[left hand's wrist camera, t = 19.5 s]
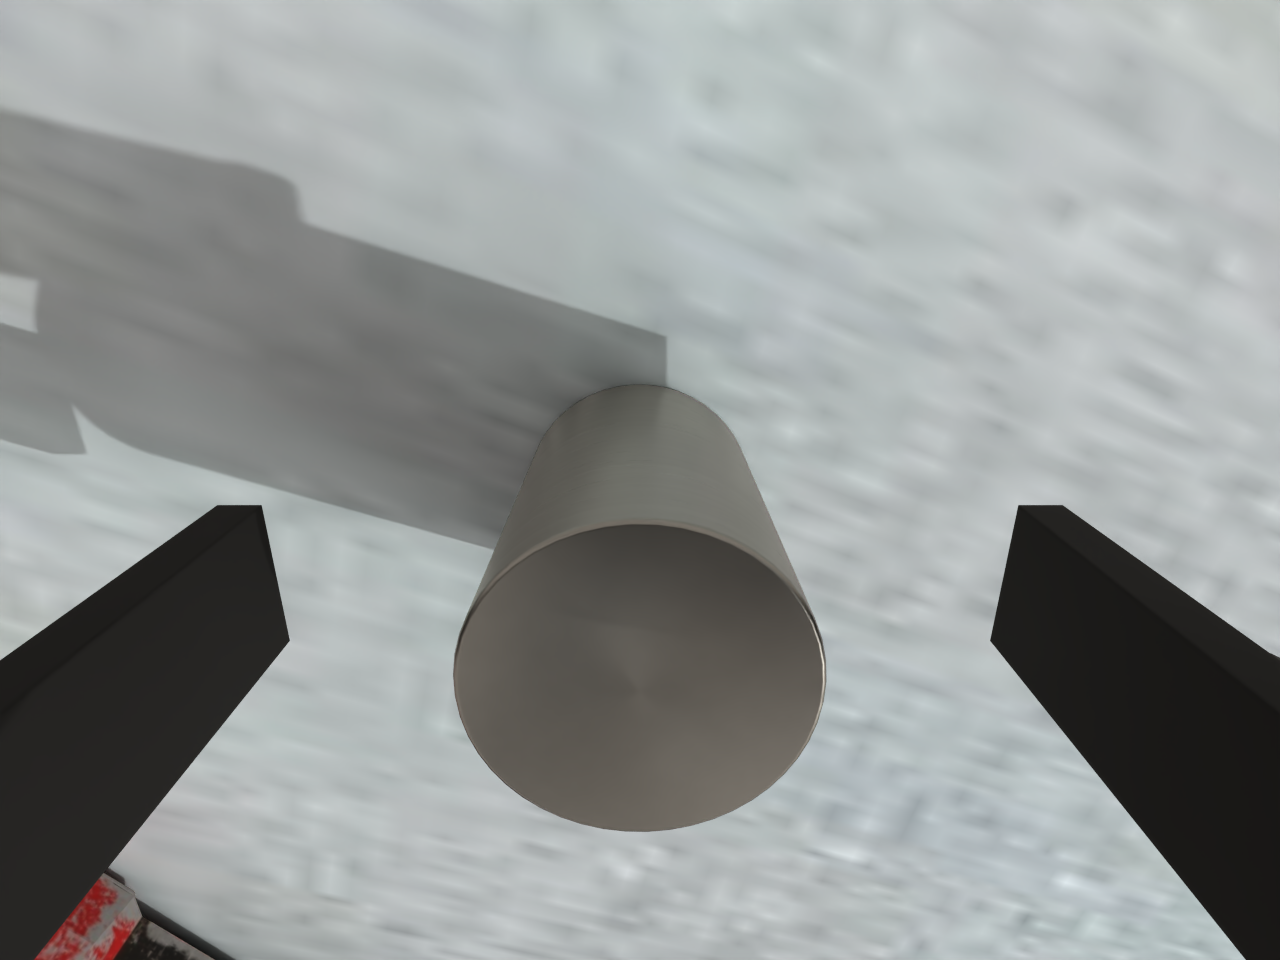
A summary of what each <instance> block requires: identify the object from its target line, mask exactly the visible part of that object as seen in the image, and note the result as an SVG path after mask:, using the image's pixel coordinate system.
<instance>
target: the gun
mask: <svg viewBox="0 0 1280 960" xmlns="http://www.w3.org/2000/svg"><path fill="white" fill-rule="evenodd" d="M34 960H214V959H213V958H211V957H209V956H208V955H206V954H204V953H203V952H201V951H199V950H198V949H196V948H194V947H193V946H191V945H189V944H188V943H186V942H184V941H183V940H181V939H179V938H178V937H176V936H174V935H173V934H171V933H169V932H168V931H166V930H164V929H163V928H161V927H159V926H157V925H156V924H154V923H152V922H151V921H149V920H147V919H146V918H144V917H142V915H141V912H140V909H139V907H138V904H137V902H136V899H135V892H134V891H133V890H131V889H130V888H128V887H126V886H125V885H123V884H122V883H120V882H118V881H117V880H115V879H113V878H112V877H110V876H108V875H107V874H105V873H103V874H102V876H101V877H100V878H99V879H98V881H97V882H96V883H95V884H94V886H93V887H92V888H91V889H90V891H89V892H88V893H87V894H86V896H85V897H84V898H83V899H82V901H81V902H80V903H79V904H78V906H77V907H76V908H75V909H74V911H73V912H72V913H71V914H70V916H69V917H68V918H67V919H66V921H65V922H64V923H63V924H62V926H61V927H60V928H59V929H58V931H57V932H56V933H55V934H54V936H53V937H52V938H51V939H50V941H49V942H48V943H47V944H46V946H45V947H44V948H43V949H42V950H41V952H40V953H39V954H38V955H37V957H36V958H35V959H34Z"/></svg>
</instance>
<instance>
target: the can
mask: <svg viewBox="0 0 1280 960" xmlns="http://www.w3.org/2000/svg"><path fill="white" fill-rule="evenodd" d="M453 679H454V691H455V698H456V702H457V706H458V710H459V714H460V718H461V720H462V723H463V725H464V727H465V730H466V732H467V735H468V737H469V739H470V740H471V742H472V744H473V745H474V747H475V749H476V751H477V752H478V754H479V755H480V756H481V758H482V759H483V760H484V761H485V763H486V764H487V765H488V767H489V768H490V769H491V770H492V771H493V772H494V773H495V774H496V775H497V776H498V777H499V778H500V779H501V780H502V781H503V782H504V783H505V784H506V785H507V786H509V787H510V788H511V789H513V790H514V791H515V792H516V793H518V794H519V795H520V796H522V797H523V798H525V799H526V800H528V801H530V802H531V803H533V804H535V805H537V806H538V807H540V808H542V809H544V810H546V811H548V812H550V813H553V814H555V815H557V816H559V817H562V818H565V819H568V820H571V821H574V822H577V823H580V824H583V825H588V826H593V827H597V828H602V829H609V830H618V831H634V832H650V831H661V830H671V829H676V828H682V827H687V826H692V825H695V824H699V823H702V822H705V821H709V820H712V819H715V818H717V817H719V816H722V815H724V814H727V813H729V812H731V811H733V810H735V809H737V808H739V807H741V806H743V805H744V804H746V803H748V802H750V801H752V800H753V799H754V798H756V797H757V796H759V795H760V794H761V793H763V792H764V791H766V790H767V789H768V788H770V787H771V786H772V785H773V784H774V783H775V782H776V781H777V780H778V779H779V778H781V777H782V776H783V775H784V774H785V773H786V771H787V770H788V769H789V768H790V767H791V766H792V764H793V763H794V762H795V761H796V760H797V759H798V757H799V756H800V754H801V752H802V751H803V749H804V748H805V746H806V745H807V743H808V742H809V740H810V737H811V735H812V733H813V731H814V729H815V727H816V724H817V722H818V719H819V715H820V712H821V708H822V705H823V702H824V695H825V687H826V657H825V652H824V646H823V641H822V637H821V634H820V632H819V629H818V626H817V623H816V620H815V618H814V615H813V613H812V611H811V608H810V606H809V604H808V602H807V599H806V597H805V595H804V592H803V590H802V588H801V586H800V583H799V581H798V579H797V576H796V574H795V572H794V569H793V567H792V565H791V563H790V560H789V558H788V556H787V553H786V551H785V549H784V547H783V544H782V542H781V540H780V537H779V535H778V533H777V530H776V528H775V526H774V524H773V521H772V519H771V517H770V514H769V512H768V510H767V508H766V505H765V503H764V501H763V498H762V496H761V494H760V492H759V489H758V487H757V485H756V482H755V480H754V478H753V475H752V473H751V471H750V469H749V466H748V464H747V462H746V459H745V457H744V455H743V453H742V450H741V448H740V446H739V444H738V442H737V440H736V438H735V437H734V435H733V433H732V432H731V431H730V429H729V428H728V427H727V425H726V424H725V423H724V422H723V421H722V420H721V419H720V418H719V416H718V415H717V414H716V413H714V412H713V411H712V410H711V409H709V408H708V407H707V406H706V405H704V404H703V403H701V402H699V401H698V400H696V399H694V398H693V397H690V396H688V395H686V394H684V393H681V392H679V391H676V390H672V389H669V388H665V387H660V386H653V385H626V386H618V387H614V388H610V389H606V390H603V391H600V392H597V393H595V394H592V395H590V396H588V397H586V398H584V399H583V400H581V401H579V402H577V403H576V404H574V405H573V406H572V407H570V408H569V409H568V410H566V411H565V412H564V413H563V414H562V415H561V416H560V417H559V418H558V419H557V420H556V421H555V422H554V423H553V425H552V426H551V427H550V428H549V430H548V431H547V432H546V434H545V436H544V437H543V439H542V441H541V442H540V444H539V447H538V449H537V451H536V454H535V456H534V458H533V461H532V463H531V465H530V468H529V470H528V472H527V475H526V477H525V480H524V482H523V484H522V487H521V489H520V491H519V494H518V496H517V498H516V501H515V503H514V505H513V508H512V510H511V512H510V515H509V517H508V519H507V522H506V524H505V527H504V529H503V531H502V534H501V536H500V538H499V541H498V543H497V545H496V548H495V550H494V552H493V555H492V557H491V559H490V562H489V564H488V566H487V569H486V571H485V574H484V576H483V578H482V581H481V583H480V585H479V588H478V590H477V592H476V595H475V597H474V599H473V602H472V604H471V606H470V609H469V611H468V613H467V616H466V618H465V621H464V623H463V626H462V628H461V631H460V633H459V637H458V642H457V646H456V650H455V655H454V669H453Z"/></svg>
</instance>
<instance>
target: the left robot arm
mask: <svg viewBox="0 0 1280 960" xmlns="http://www.w3.org/2000/svg"><path fill="white" fill-rule="evenodd" d="M289 641H290V640H289V635H288V630H287V625H286V620H285V616H284V611H283V606H282V601H281V596H280V592H279V587H278V582H277V577H276V572H275V568H274V563H273V558H272V553H271V548H270V544H269V539H268V534H267V529H266V524H265V520H264V515H263V510H262V505H217V506H216V507H214V508H213V509H212V510H210V511H209V512H207V513H206V514H205V515H203V516H202V517H200V518H199V519H198V520H196V521H195V522H193V523H192V524H191V525H189V526H188V527H186V528H185V529H184V530H182V531H181V532H179V533H178V534H177V535H175V536H174V537H172V538H171V539H170V540H168V541H167V542H165V543H164V544H163V545H161V546H160V547H158V548H157V549H156V550H154V551H153V552H151V553H150V554H149V555H147V556H146V557H144V558H143V559H142V560H140V561H139V562H137V563H136V564H135V565H133V566H132V567H130V568H129V569H128V570H126V571H125V572H123V573H122V574H121V575H119V576H118V577H116V578H115V579H114V580H112V581H111V582H109V583H108V584H107V585H105V586H104V587H102V588H101V589H100V590H98V591H97V592H95V593H94V594H93V595H91V596H90V597H88V598H87V599H86V600H84V601H83V602H81V603H80V604H79V605H77V606H76V607H74V608H73V609H72V610H70V611H69V612H67V613H66V614H65V615H63V616H62V617H60V618H59V619H58V620H56V621H55V622H53V623H52V624H51V625H49V626H48V627H46V628H45V629H44V630H42V631H41V632H39V633H38V634H37V635H35V636H34V637H32V638H31V639H30V640H28V641H27V642H25V643H24V644H23V645H21V646H20V647H18V648H17V649H16V650H14V651H13V652H11V653H10V654H9V655H7V656H6V657H4V658H3V659H2V660H0V960H34V959H35V958H36V957H37V955H38V954H39V953H40V952H41V950H42V949H43V948H44V947H45V946H46V944H47V943H48V942H49V941H50V939H51V938H52V937H53V936H54V934H55V933H56V932H57V931H58V929H59V928H60V927H61V926H62V924H63V923H64V922H65V921H66V919H67V918H68V917H69V916H70V914H71V913H72V912H73V911H74V909H75V908H76V907H77V906H78V904H79V903H80V902H81V901H82V899H83V898H84V897H85V896H86V894H87V893H88V892H89V891H90V889H91V888H92V887H93V886H94V884H95V883H96V882H97V881H98V879H99V878H100V877H101V876H102V874H103V873H104V872H105V871H106V869H107V868H108V867H109V866H110V864H111V863H112V862H113V861H114V859H115V858H116V857H117V856H118V854H119V853H120V852H121V851H122V849H123V848H124V847H125V846H126V844H127V843H128V842H129V841H130V839H131V838H132V837H133V836H134V834H135V833H136V832H137V831H138V829H139V828H140V827H141V826H142V824H143V823H144V822H145V821H146V819H147V818H148V817H149V816H150V814H151V813H152V812H153V811H154V809H155V808H156V807H157V806H158V804H159V803H160V802H161V801H162V799H163V798H164V797H165V796H166V794H167V793H168V792H169V791H170V789H171V788H172V787H173V786H174V784H175V783H176V782H177V781H178V779H179V778H180V777H181V776H182V774H183V773H184V772H185V771H186V770H187V768H188V767H189V766H190V765H191V763H192V762H193V761H194V760H195V758H196V757H197V756H198V755H199V753H200V752H201V751H202V750H203V748H204V747H205V746H206V745H207V743H208V742H209V741H210V740H211V738H212V737H213V736H214V735H215V733H216V732H217V731H218V730H219V728H220V727H221V726H222V725H223V723H224V722H225V721H226V720H227V718H228V717H229V716H230V715H231V713H232V712H233V711H234V710H235V708H236V707H237V706H238V705H239V703H240V702H241V701H242V700H243V698H244V697H245V696H246V695H247V693H248V692H249V691H250V690H251V688H252V687H253V686H254V685H255V683H256V682H257V681H258V680H259V678H260V677H261V676H262V675H263V673H264V672H265V671H266V670H267V668H268V667H269V666H270V665H271V663H272V662H273V661H274V660H275V658H276V657H277V656H278V655H279V653H280V652H281V651H282V650H283V648H284V647H285V646H286V645H287V643H288V642H289ZM990 641H991V642H992V643H993V645H994V646H995V647H996V648H997V650H998V651H999V652H1000V653H1001V655H1002V656H1003V657H1004V658H1005V660H1006V661H1007V662H1008V663H1009V665H1010V666H1011V667H1012V668H1013V670H1014V671H1015V672H1016V673H1017V675H1018V676H1019V677H1020V678H1021V680H1022V681H1023V682H1024V683H1025V685H1026V686H1027V687H1028V688H1029V690H1030V691H1031V692H1032V693H1033V695H1034V696H1035V697H1036V698H1037V700H1038V701H1039V702H1040V703H1041V705H1042V706H1043V707H1044V708H1045V710H1046V711H1047V712H1048V713H1049V715H1050V716H1051V717H1052V718H1053V720H1054V721H1055V722H1056V723H1057V725H1058V726H1059V727H1060V728H1061V730H1062V731H1063V732H1064V733H1065V735H1066V736H1067V737H1068V738H1069V740H1070V741H1071V742H1072V743H1073V745H1074V746H1075V747H1076V748H1077V750H1078V751H1079V752H1080V753H1081V755H1082V756H1083V757H1084V758H1085V760H1086V761H1087V762H1088V763H1089V765H1090V766H1091V767H1092V768H1093V770H1094V771H1095V772H1096V773H1097V774H1098V776H1099V777H1100V778H1101V779H1102V781H1103V782H1104V783H1105V784H1106V786H1107V787H1108V788H1109V789H1110V791H1111V792H1112V793H1113V794H1114V796H1115V797H1116V798H1117V799H1118V801H1119V802H1120V803H1121V804H1122V806H1123V807H1124V808H1125V809H1126V811H1127V812H1128V813H1129V814H1130V816H1131V817H1132V818H1133V819H1134V821H1135V822H1136V823H1137V824H1138V826H1139V827H1140V828H1141V829H1142V831H1143V832H1144V833H1145V834H1146V836H1147V837H1148V838H1149V839H1150V841H1151V842H1152V843H1153V844H1154V846H1155V847H1156V848H1157V849H1158V851H1159V852H1160V853H1161V854H1162V856H1163V857H1164V858H1165V859H1166V861H1167V862H1168V863H1169V864H1170V866H1171V867H1172V868H1173V869H1174V871H1175V872H1176V873H1177V874H1178V876H1179V877H1180V878H1181V879H1182V881H1183V882H1184V883H1185V884H1186V886H1187V887H1188V888H1189V889H1190V891H1191V892H1192V893H1193V894H1194V896H1195V897H1196V898H1197V899H1198V901H1199V902H1200V903H1201V904H1202V906H1203V907H1204V908H1205V909H1206V911H1207V912H1208V913H1209V914H1210V916H1211V917H1212V918H1213V919H1214V921H1215V922H1216V923H1217V924H1218V926H1219V927H1220V928H1221V929H1222V931H1223V932H1224V933H1225V934H1226V936H1227V937H1228V938H1229V939H1230V941H1231V942H1232V943H1233V944H1234V946H1235V947H1236V948H1237V949H1238V950H1239V952H1240V953H1241V954H1242V955H1243V957H1244V958H1245V959H1246V960H1280V658H1279V657H1277V656H1275V655H1273V654H1271V653H1269V652H1267V651H1266V650H1264V649H1263V648H1262V647H1260V646H1259V645H1257V644H1256V643H1255V642H1253V641H1252V640H1250V639H1249V638H1248V637H1246V636H1245V635H1243V634H1242V633H1241V632H1239V631H1238V630H1236V629H1235V628H1234V627H1232V626H1231V625H1229V624H1228V623H1227V622H1225V621H1224V620H1222V619H1221V618H1220V617H1218V616H1217V615H1215V614H1214V613H1213V612H1211V611H1210V610H1208V609H1207V608H1206V607H1204V606H1203V605H1201V604H1200V603H1199V602H1197V601H1196V600H1194V599H1193V598H1192V597H1190V596H1189V595H1187V594H1186V593H1185V592H1183V591H1182V590H1180V589H1179V588H1178V587H1176V586H1175V585H1173V584H1172V583H1171V582H1169V581H1168V580H1166V579H1165V578H1164V577H1162V576H1161V575H1159V574H1158V573H1157V572H1155V571H1154V570H1152V569H1151V568H1150V567H1148V566H1147V565H1145V564H1144V563H1143V562H1141V561H1140V560H1138V559H1137V558H1136V557H1134V556H1133V555H1131V554H1130V553H1129V552H1127V551H1126V550H1124V549H1123V548H1122V547H1120V546H1119V545H1117V544H1116V543H1115V542H1113V541H1112V540H1110V539H1109V538H1108V537H1106V536H1105V535H1103V534H1102V533H1101V532H1099V531H1098V530H1096V529H1095V528H1094V527H1092V526H1091V525H1089V524H1088V523H1087V522H1085V521H1084V520H1082V519H1081V518H1080V517H1078V516H1077V515H1075V514H1074V513H1073V512H1071V511H1070V510H1068V509H1067V508H1066V507H1064V506H1063V505H1018V510H1017V515H1016V520H1015V524H1014V529H1013V534H1012V539H1011V544H1010V548H1009V553H1008V558H1007V563H1006V568H1005V572H1004V577H1003V582H1002V587H1001V592H1000V596H999V601H998V606H997V611H996V616H995V620H994V625H993V630H992V635H991V640H990Z"/></svg>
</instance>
